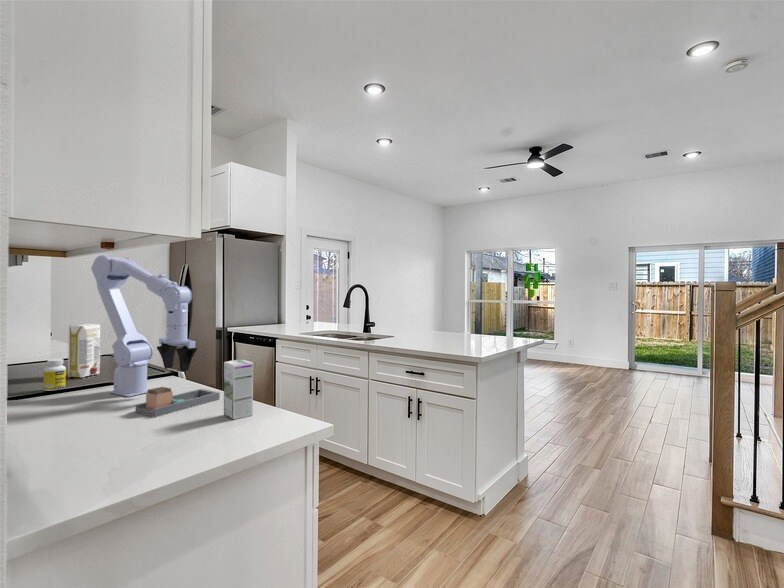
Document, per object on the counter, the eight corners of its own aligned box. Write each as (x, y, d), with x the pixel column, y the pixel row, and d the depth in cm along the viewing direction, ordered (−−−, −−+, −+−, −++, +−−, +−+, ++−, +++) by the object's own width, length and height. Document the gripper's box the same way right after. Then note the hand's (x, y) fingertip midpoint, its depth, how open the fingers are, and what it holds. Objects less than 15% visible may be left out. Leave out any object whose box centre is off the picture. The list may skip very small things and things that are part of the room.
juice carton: (103, 374, 151) (104, 324, 151) (81, 379, 143) (82, 326, 143) (86, 373, 153) (87, 323, 152) (64, 378, 144) (64, 325, 144)
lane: (135, 411, 109) (135, 404, 109) (200, 395, 127) (200, 388, 126) (155, 417, 105) (155, 409, 105) (219, 399, 123) (219, 392, 123)
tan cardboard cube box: (145, 411, 109) (146, 389, 109) (161, 407, 113) (162, 386, 113) (156, 414, 107) (156, 392, 107) (172, 410, 111) (172, 388, 111)
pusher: (160, 406, 113) (160, 397, 113) (176, 401, 118) (176, 393, 118) (173, 409, 111) (173, 400, 111) (189, 404, 115) (190, 396, 115)
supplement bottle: (55, 392, 125) (56, 361, 125) (38, 392, 125) (39, 361, 125) (70, 388, 131) (70, 358, 131) (53, 388, 131) (53, 358, 131)
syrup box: (253, 415, 108) (254, 361, 108) (232, 420, 104) (233, 364, 104) (243, 410, 112) (244, 358, 112) (222, 415, 108) (223, 361, 107)
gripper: (149, 324, 124) (149, 369, 124) (180, 328, 117) (179, 374, 117) (171, 323, 130) (170, 365, 130) (201, 326, 123) (201, 370, 124)
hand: (176, 369), depth 124 cm, fingers open, 7 cm apart
